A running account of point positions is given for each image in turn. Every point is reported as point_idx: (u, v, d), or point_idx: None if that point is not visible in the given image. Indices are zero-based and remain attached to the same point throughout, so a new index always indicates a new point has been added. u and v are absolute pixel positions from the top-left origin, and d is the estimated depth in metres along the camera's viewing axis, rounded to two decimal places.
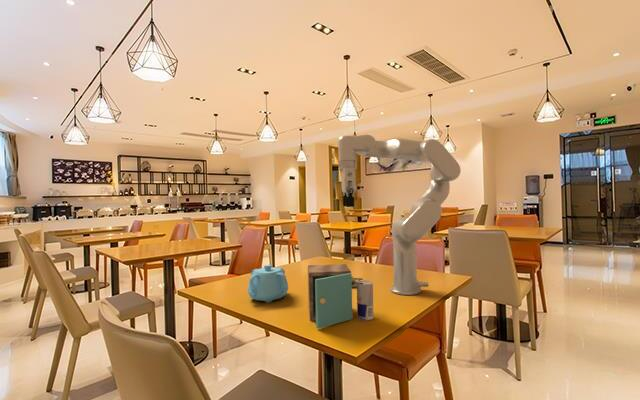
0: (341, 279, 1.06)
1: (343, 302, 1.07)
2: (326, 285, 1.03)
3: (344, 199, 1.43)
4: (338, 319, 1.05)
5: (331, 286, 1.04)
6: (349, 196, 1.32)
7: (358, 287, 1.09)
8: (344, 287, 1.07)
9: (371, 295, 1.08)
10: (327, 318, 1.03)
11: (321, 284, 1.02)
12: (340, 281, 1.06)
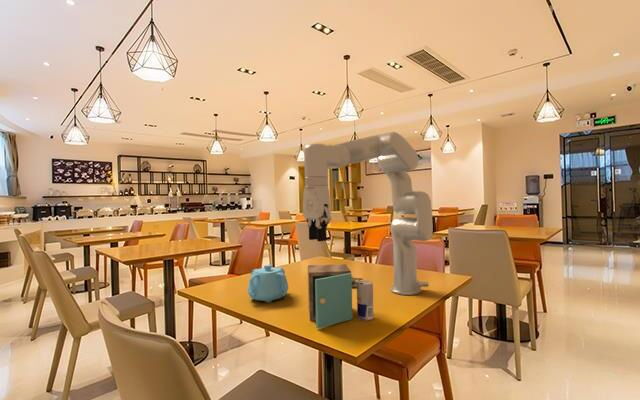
0: (341, 279, 1.06)
1: (343, 302, 1.07)
2: (326, 285, 1.03)
3: None
4: (338, 319, 1.05)
5: (331, 286, 1.04)
6: None
7: (358, 287, 1.09)
8: (344, 287, 1.07)
9: (371, 295, 1.08)
10: (327, 318, 1.03)
11: (321, 284, 1.02)
12: (340, 281, 1.06)
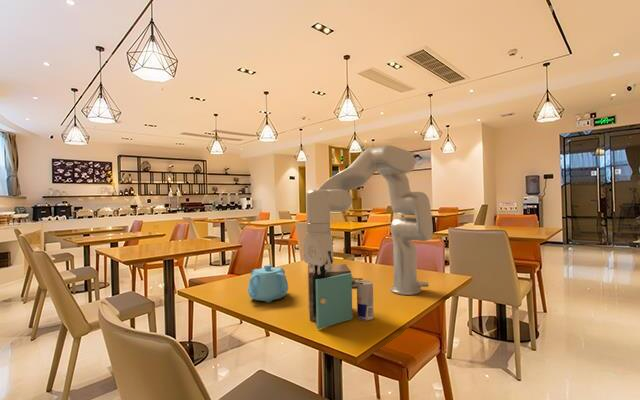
0: (341, 279, 1.06)
1: (343, 302, 1.06)
2: (326, 285, 1.03)
3: None
4: (338, 319, 1.05)
5: (331, 286, 1.04)
6: None
7: (358, 287, 1.09)
8: (344, 287, 1.07)
9: (371, 295, 1.08)
10: (328, 318, 1.03)
11: (322, 284, 1.02)
12: (340, 281, 1.06)
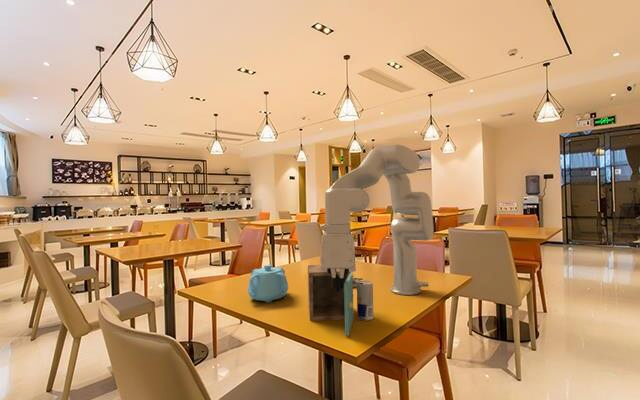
0: (351, 280, 1.04)
1: None
2: (349, 288, 0.99)
3: None
4: (351, 321, 1.03)
5: (349, 289, 1.01)
6: None
7: (358, 287, 1.09)
8: (351, 288, 1.06)
9: (371, 295, 1.08)
10: (349, 323, 0.99)
11: (348, 288, 0.97)
12: (351, 282, 1.04)
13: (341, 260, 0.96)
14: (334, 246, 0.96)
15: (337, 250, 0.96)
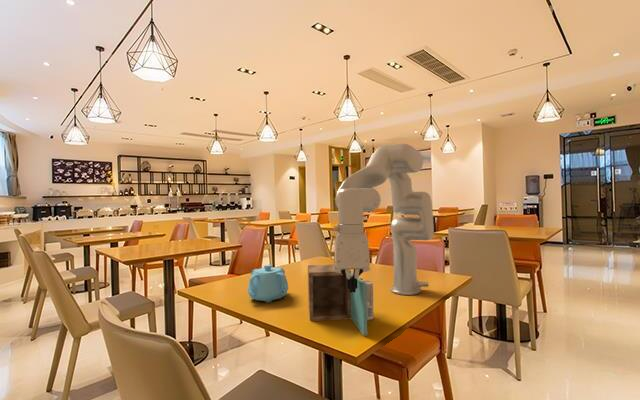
0: None
1: None
2: None
3: None
4: None
5: None
6: None
7: None
8: None
9: (371, 295, 1.08)
10: None
11: None
12: None
13: (358, 260, 0.95)
14: (350, 247, 0.95)
15: (353, 250, 0.95)
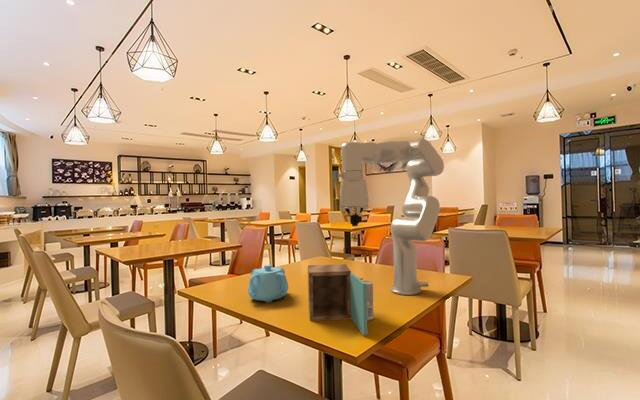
0: None
1: None
2: None
3: None
4: None
5: None
6: None
7: None
8: None
9: (371, 295, 1.08)
10: None
11: None
12: None
13: (359, 200, 1.19)
14: (353, 189, 1.18)
15: (355, 192, 1.19)
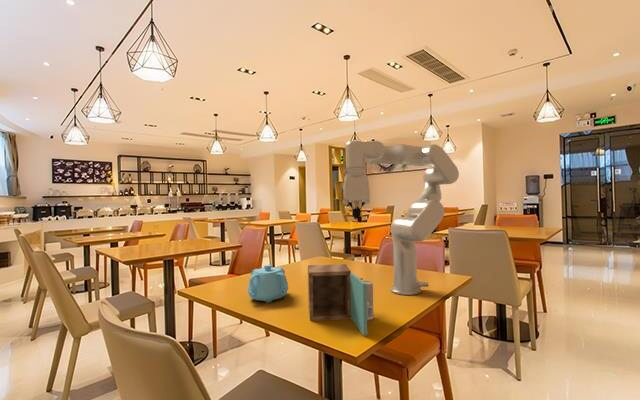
0: None
1: None
2: None
3: None
4: None
5: None
6: None
7: None
8: None
9: (371, 295, 1.08)
10: None
11: None
12: None
13: (361, 194, 1.28)
14: (355, 184, 1.28)
15: (357, 187, 1.28)
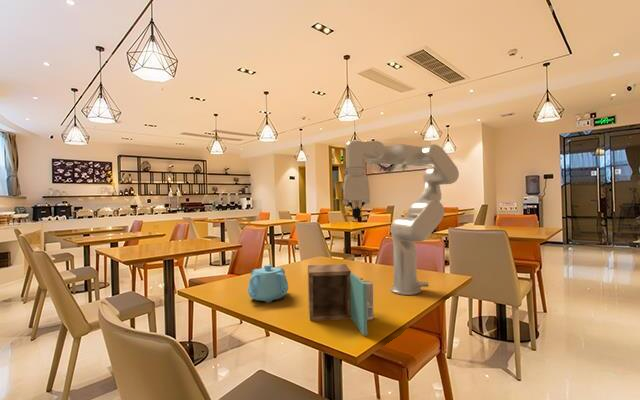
0: None
1: None
2: None
3: None
4: None
5: None
6: None
7: None
8: None
9: (371, 295, 1.08)
10: None
11: None
12: None
13: (361, 194, 1.28)
14: (355, 184, 1.28)
15: (357, 187, 1.28)
